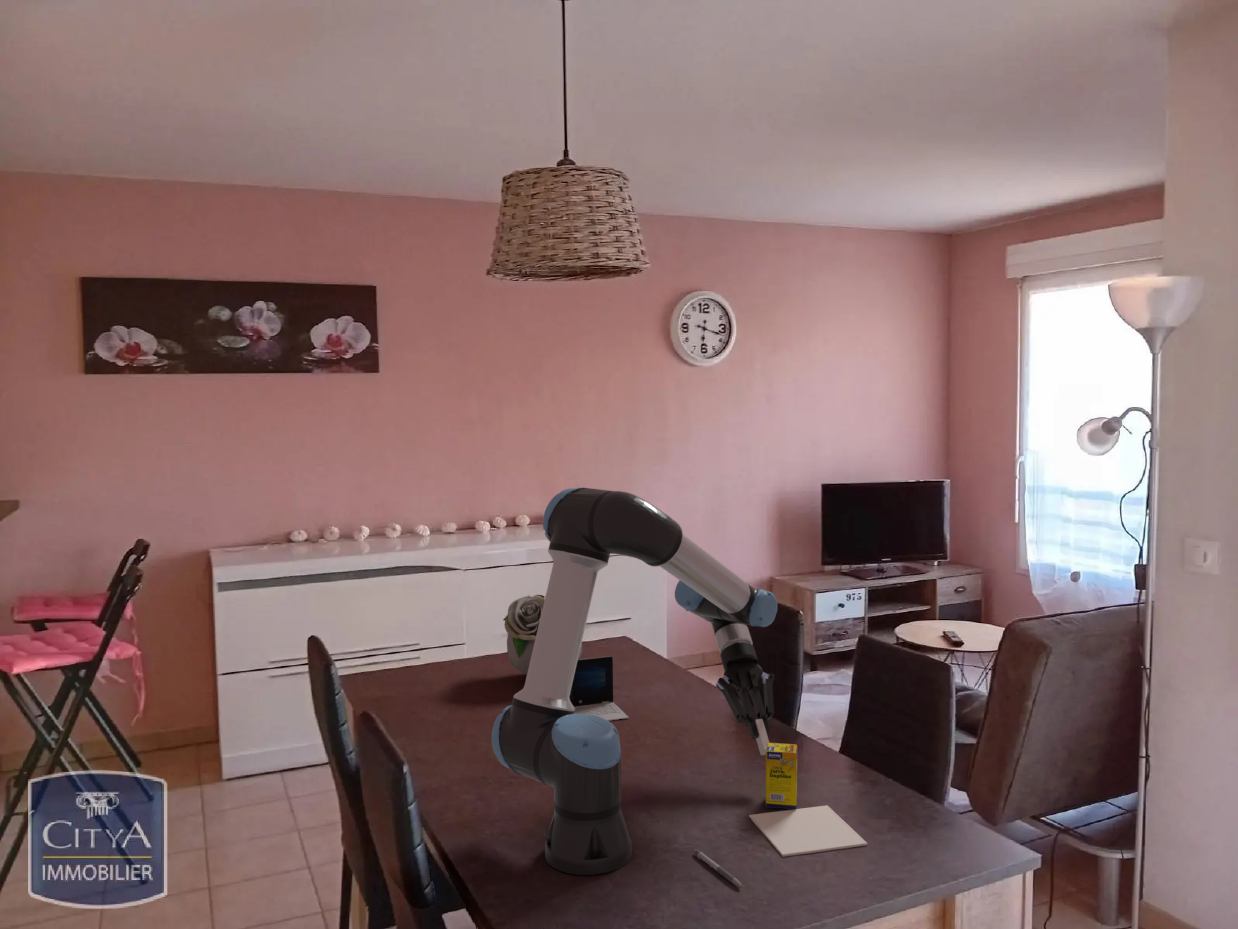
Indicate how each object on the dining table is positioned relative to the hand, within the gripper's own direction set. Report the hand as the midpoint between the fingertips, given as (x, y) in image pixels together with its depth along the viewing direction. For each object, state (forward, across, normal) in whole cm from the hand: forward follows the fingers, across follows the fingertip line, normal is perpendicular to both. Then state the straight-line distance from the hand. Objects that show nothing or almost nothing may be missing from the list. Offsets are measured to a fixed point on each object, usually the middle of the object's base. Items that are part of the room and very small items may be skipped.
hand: (765, 752), depth 193 cm
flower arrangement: (-55, +32, -66) cm, 91 cm away
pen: (+26, +21, +15) cm, 37 cm away
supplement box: (+11, 0, 0) cm, 11 cm away
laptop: (-32, +26, -43) cm, 60 cm away
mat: (+19, 0, +9) cm, 21 cm away
